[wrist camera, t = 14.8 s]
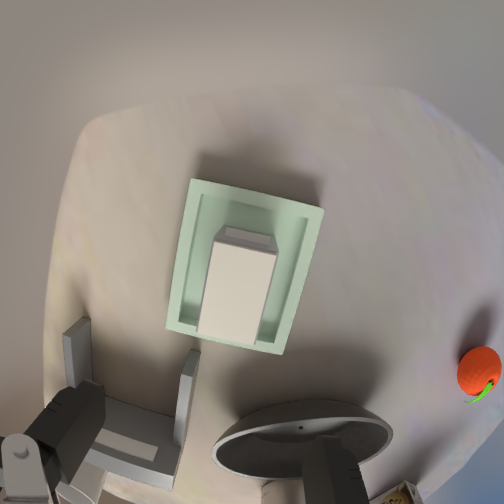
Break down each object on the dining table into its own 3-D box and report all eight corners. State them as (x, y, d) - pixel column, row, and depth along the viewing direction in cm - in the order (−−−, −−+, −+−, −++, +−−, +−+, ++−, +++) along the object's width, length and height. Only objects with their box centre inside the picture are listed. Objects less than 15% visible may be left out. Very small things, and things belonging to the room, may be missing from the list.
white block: (276, 229, 30) (281, 245, 22) (256, 311, 32) (255, 347, 24) (225, 218, 29) (213, 230, 22) (208, 300, 31) (194, 334, 24)
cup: (86, 454, 40) (61, 499, 28) (72, 425, 38) (41, 472, 27) (124, 465, 40) (103, 515, 28) (112, 436, 38) (85, 489, 26)
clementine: (461, 388, 35) (483, 415, 28) (435, 379, 34) (458, 409, 27) (491, 345, 33) (518, 367, 26) (468, 331, 33) (497, 356, 26)
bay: (200, 352, 34) (182, 408, 24) (185, 438, 37) (171, 491, 28) (82, 316, 33) (38, 355, 24) (88, 406, 37) (60, 449, 27)
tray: (319, 206, 30) (324, 209, 27) (280, 344, 33) (282, 355, 31) (196, 178, 29) (190, 178, 27) (171, 319, 33) (165, 328, 31)
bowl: (209, 390, 35) (201, 424, 29) (384, 373, 34) (401, 402, 28) (223, 450, 38) (219, 482, 32) (372, 435, 37) (383, 464, 31)
